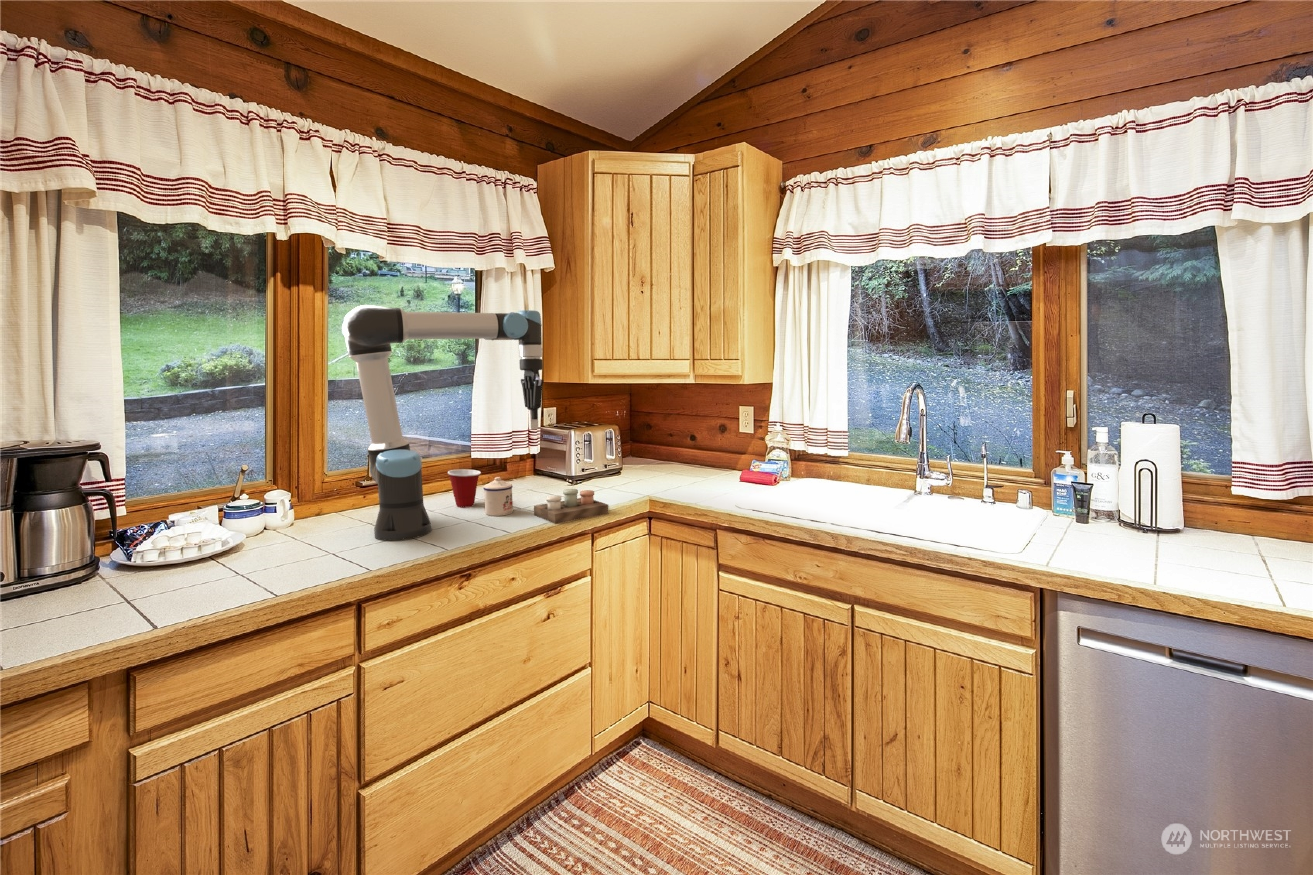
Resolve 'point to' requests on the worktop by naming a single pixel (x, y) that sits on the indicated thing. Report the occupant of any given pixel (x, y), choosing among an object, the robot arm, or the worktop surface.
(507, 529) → the worktop surface
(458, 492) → the plastic cup
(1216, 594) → the worktop surface
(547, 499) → the cream button
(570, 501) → the sage button
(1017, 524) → the worktop surface
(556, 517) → the button board
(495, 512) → the teacup with lid
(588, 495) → the pink short cylinder
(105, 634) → the worktop surface
